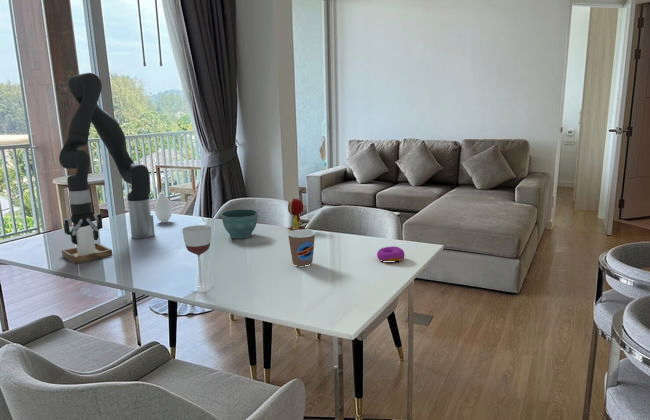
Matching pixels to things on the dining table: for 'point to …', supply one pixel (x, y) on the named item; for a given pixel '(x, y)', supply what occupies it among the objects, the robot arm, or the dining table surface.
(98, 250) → the tray
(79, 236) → the can
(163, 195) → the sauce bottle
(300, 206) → the figurine
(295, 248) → the coffee cup
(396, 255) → the donut
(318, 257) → the dining table surface
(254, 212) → the teal green bowl
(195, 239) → the wineglass
